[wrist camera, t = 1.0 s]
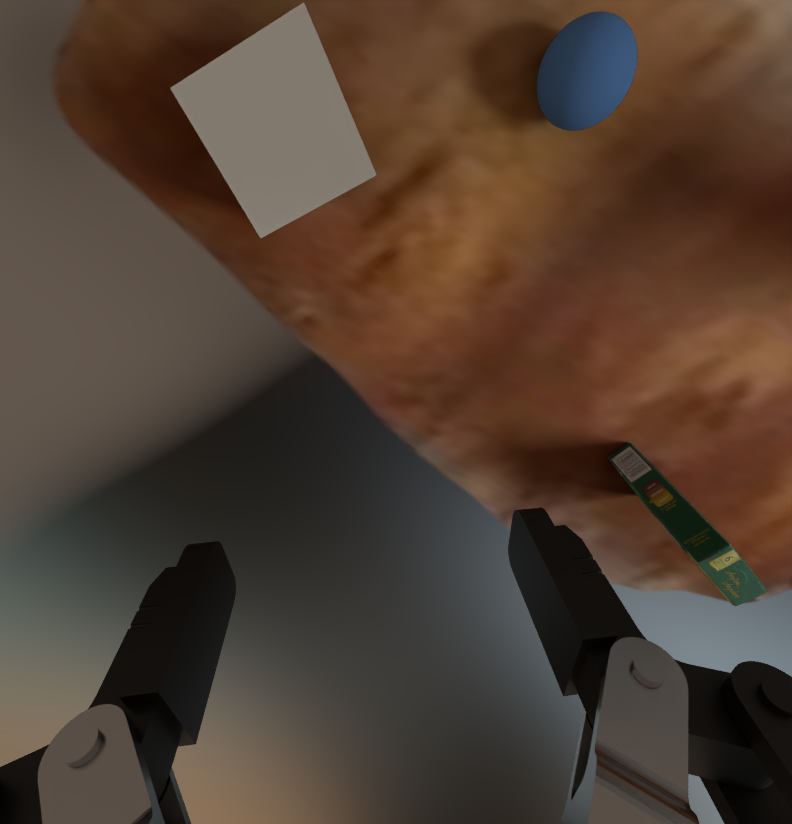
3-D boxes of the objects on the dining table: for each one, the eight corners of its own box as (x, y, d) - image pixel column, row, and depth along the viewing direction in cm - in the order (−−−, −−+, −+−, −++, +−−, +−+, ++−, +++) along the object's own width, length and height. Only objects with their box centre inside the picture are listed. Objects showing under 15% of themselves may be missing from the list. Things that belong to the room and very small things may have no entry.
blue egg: (598, 9, 23) (654, -29, 18) (611, 109, 25) (663, 96, 21) (514, 56, 23) (549, 30, 19) (535, 149, 26) (570, 144, 22)
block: (319, 50, 23) (304, 2, 16) (372, 174, 26) (376, 175, 19) (221, 111, 24) (169, 88, 17) (284, 222, 27) (260, 238, 20)
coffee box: (602, 456, 40) (697, 567, 29) (628, 438, 39) (737, 546, 28) (637, 496, 43) (735, 610, 32) (662, 481, 42) (771, 593, 31)
